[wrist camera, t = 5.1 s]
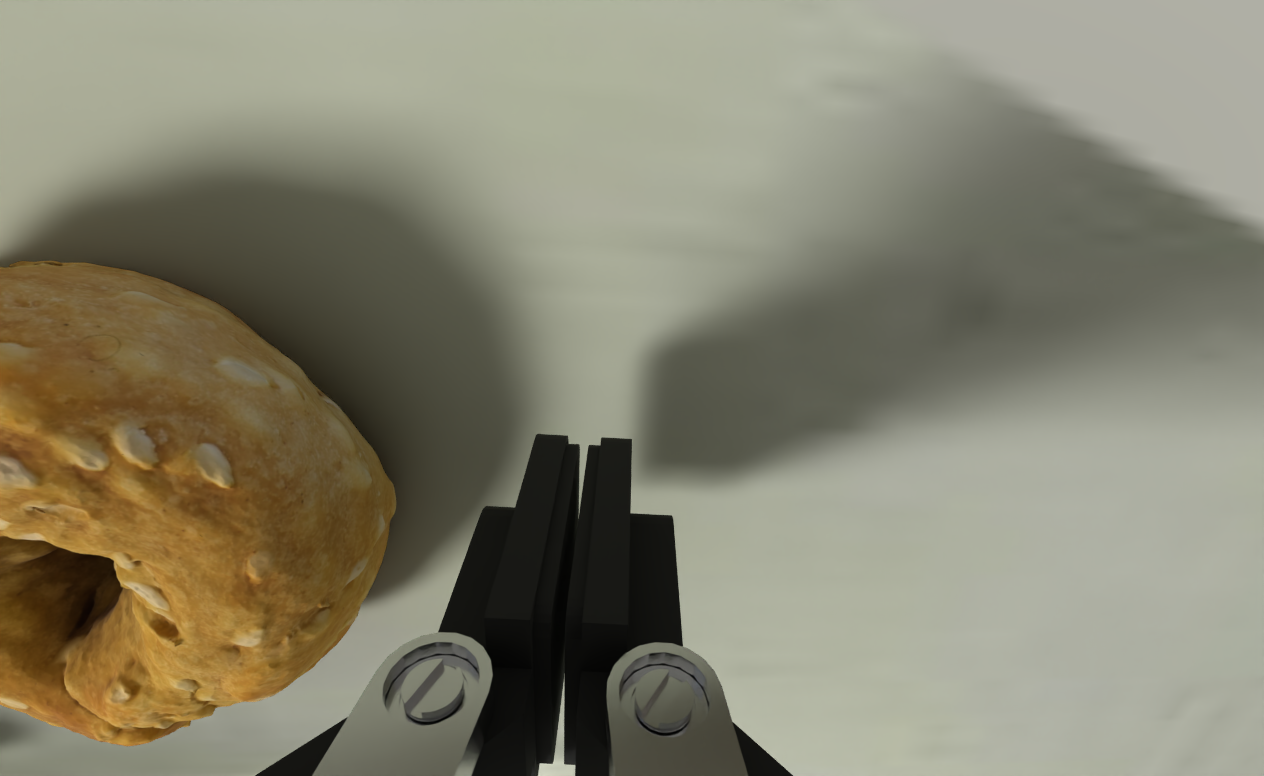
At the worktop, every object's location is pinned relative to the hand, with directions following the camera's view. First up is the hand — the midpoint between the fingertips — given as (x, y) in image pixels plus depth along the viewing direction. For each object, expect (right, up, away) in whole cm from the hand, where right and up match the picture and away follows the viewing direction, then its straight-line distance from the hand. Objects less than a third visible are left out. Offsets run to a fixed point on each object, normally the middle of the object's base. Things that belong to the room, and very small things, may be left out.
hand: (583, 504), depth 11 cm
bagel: (-9, 0, +2) cm, 9 cm away
